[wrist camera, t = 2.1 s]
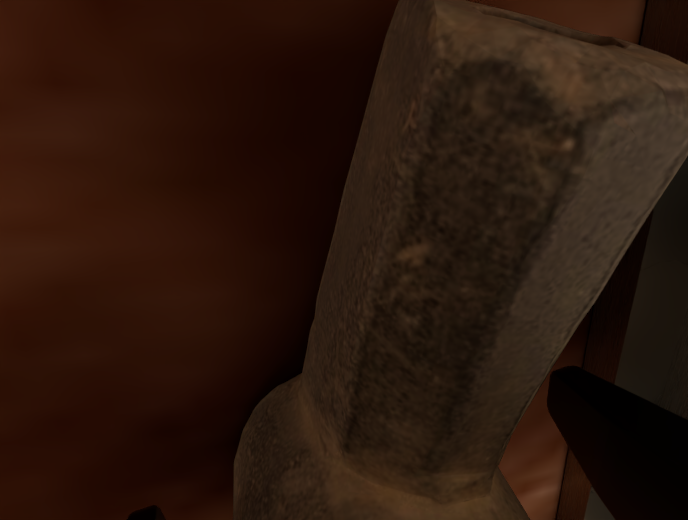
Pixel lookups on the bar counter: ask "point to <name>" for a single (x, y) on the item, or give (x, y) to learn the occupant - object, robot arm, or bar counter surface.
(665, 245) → the pipe cradle
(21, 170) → the bar counter surface
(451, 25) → the pipe
